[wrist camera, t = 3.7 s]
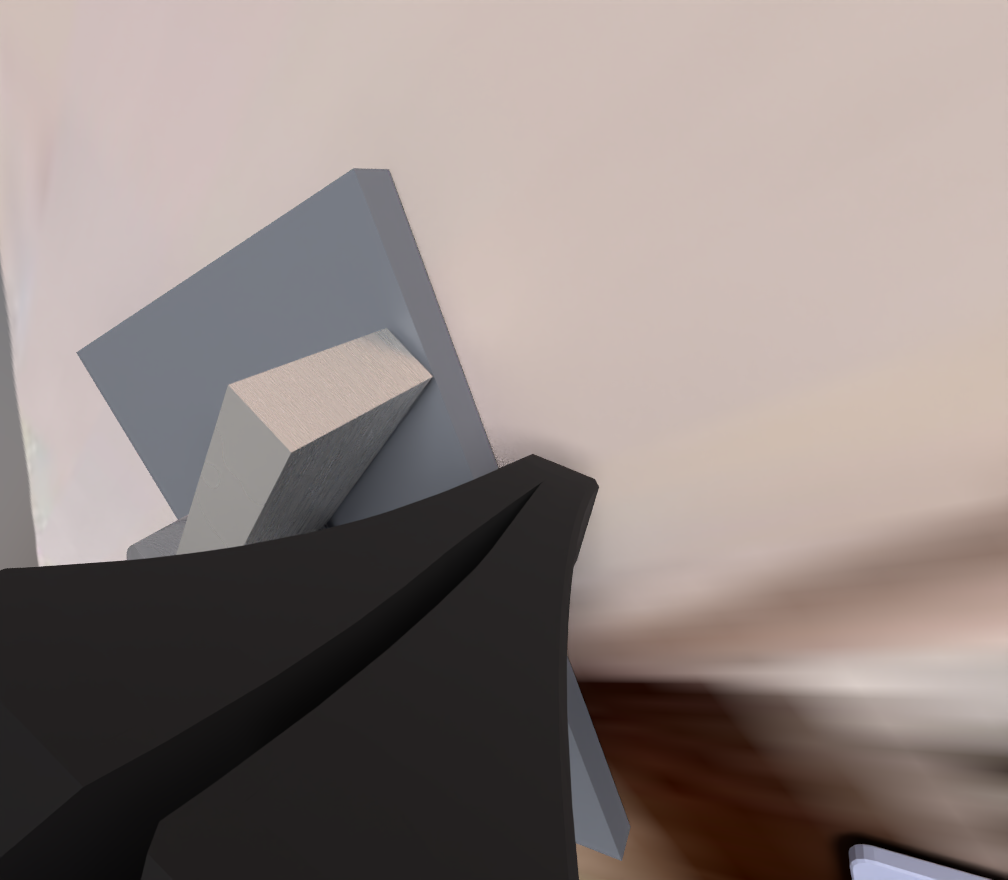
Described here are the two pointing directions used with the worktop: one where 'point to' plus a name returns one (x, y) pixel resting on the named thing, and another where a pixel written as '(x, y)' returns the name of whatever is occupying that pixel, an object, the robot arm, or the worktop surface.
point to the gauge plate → (303, 332)
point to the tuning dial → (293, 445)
